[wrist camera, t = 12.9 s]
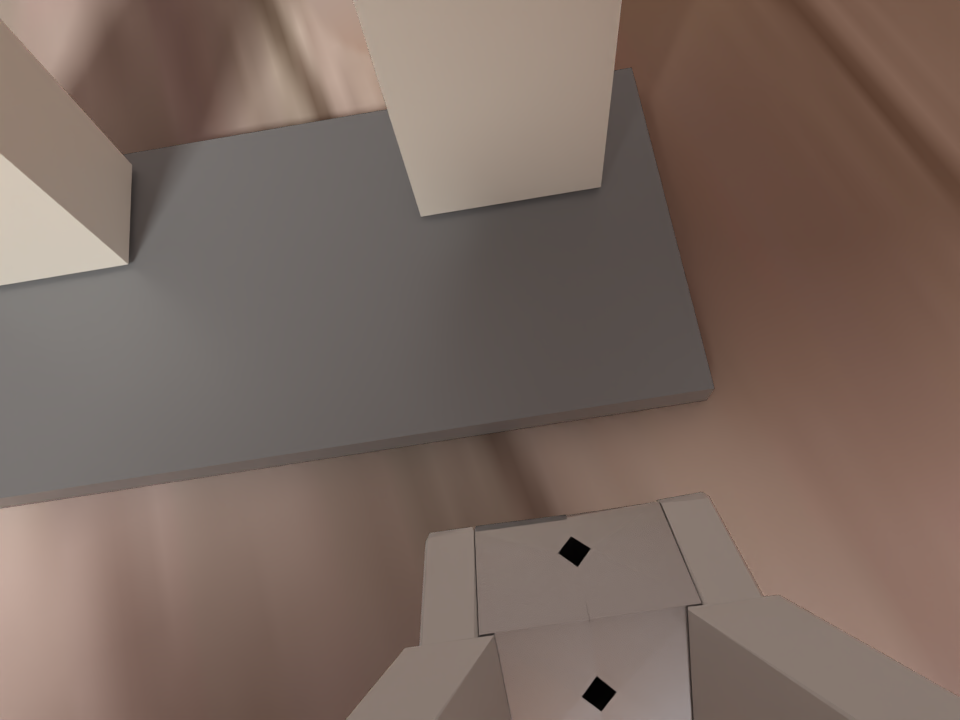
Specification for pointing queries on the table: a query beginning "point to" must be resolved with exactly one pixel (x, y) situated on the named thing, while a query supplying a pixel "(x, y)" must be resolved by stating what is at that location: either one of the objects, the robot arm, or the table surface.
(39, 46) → the table surface
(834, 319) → the table surface
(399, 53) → the key one
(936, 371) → the table surface
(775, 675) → the robot arm
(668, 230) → the grey flat board
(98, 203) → the key two
